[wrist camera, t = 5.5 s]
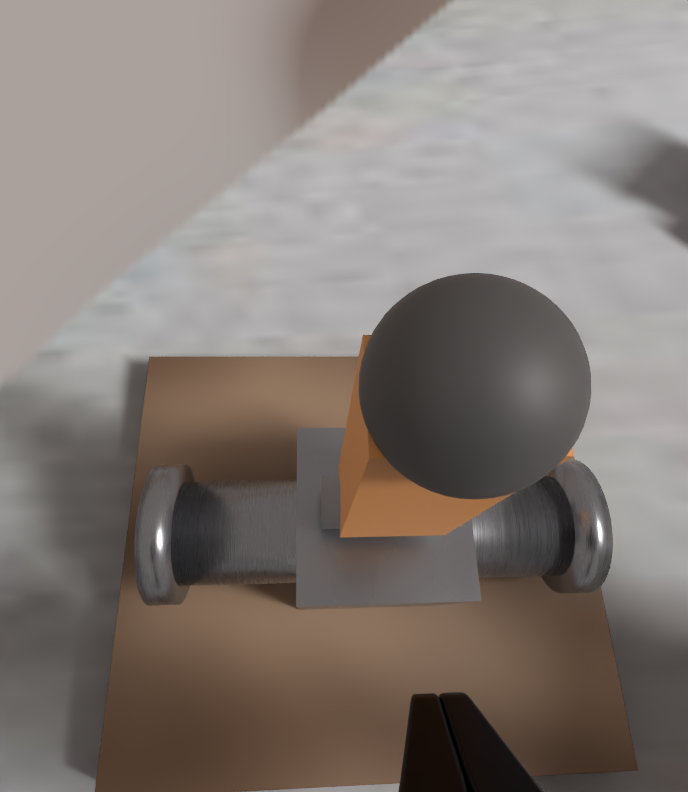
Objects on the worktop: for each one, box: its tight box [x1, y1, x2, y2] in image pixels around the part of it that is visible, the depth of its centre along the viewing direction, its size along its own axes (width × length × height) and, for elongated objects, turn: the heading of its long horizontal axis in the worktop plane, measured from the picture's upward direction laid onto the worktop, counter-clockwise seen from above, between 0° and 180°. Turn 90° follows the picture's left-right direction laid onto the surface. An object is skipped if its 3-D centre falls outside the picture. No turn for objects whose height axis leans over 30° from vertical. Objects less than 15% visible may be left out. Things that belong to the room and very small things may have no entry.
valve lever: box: [321, 273, 591, 538], centre depth 9 cm, size 3×3×8 cm
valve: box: [134, 428, 613, 610], centre depth 16 cm, size 4×13×5 cm, turn 92°
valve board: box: [95, 357, 638, 792], centre depth 19 cm, size 14×16×1 cm
